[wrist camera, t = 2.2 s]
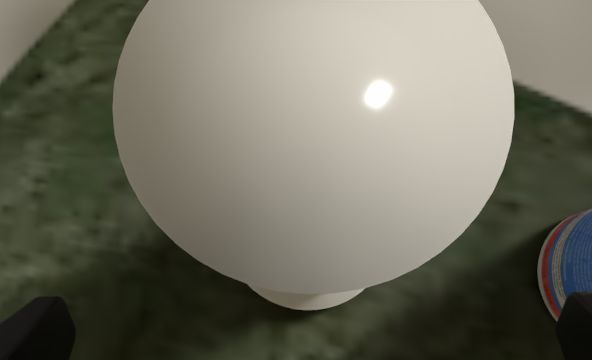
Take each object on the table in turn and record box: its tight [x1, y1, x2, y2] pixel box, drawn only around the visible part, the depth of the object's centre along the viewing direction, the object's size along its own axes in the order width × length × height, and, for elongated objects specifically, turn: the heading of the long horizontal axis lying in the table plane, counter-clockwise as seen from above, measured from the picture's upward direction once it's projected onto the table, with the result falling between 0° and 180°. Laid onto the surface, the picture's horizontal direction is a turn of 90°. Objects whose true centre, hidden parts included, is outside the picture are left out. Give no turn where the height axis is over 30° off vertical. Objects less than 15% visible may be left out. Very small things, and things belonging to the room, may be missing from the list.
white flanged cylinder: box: [113, 0, 514, 310], centre depth 12 cm, size 6×6×13 cm
